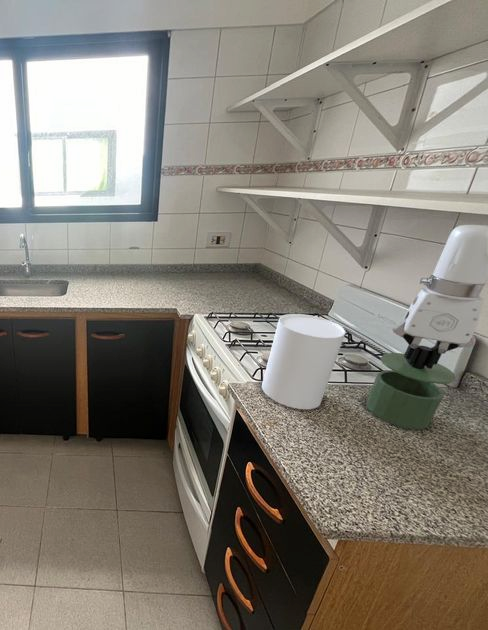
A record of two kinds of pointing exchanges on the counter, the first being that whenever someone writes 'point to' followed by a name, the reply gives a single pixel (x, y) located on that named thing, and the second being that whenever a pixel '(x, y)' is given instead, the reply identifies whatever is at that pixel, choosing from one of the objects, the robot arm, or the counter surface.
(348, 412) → the counter surface
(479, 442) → the counter surface
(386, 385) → the tin
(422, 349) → the tin lid
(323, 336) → the canister
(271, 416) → the counter surface
